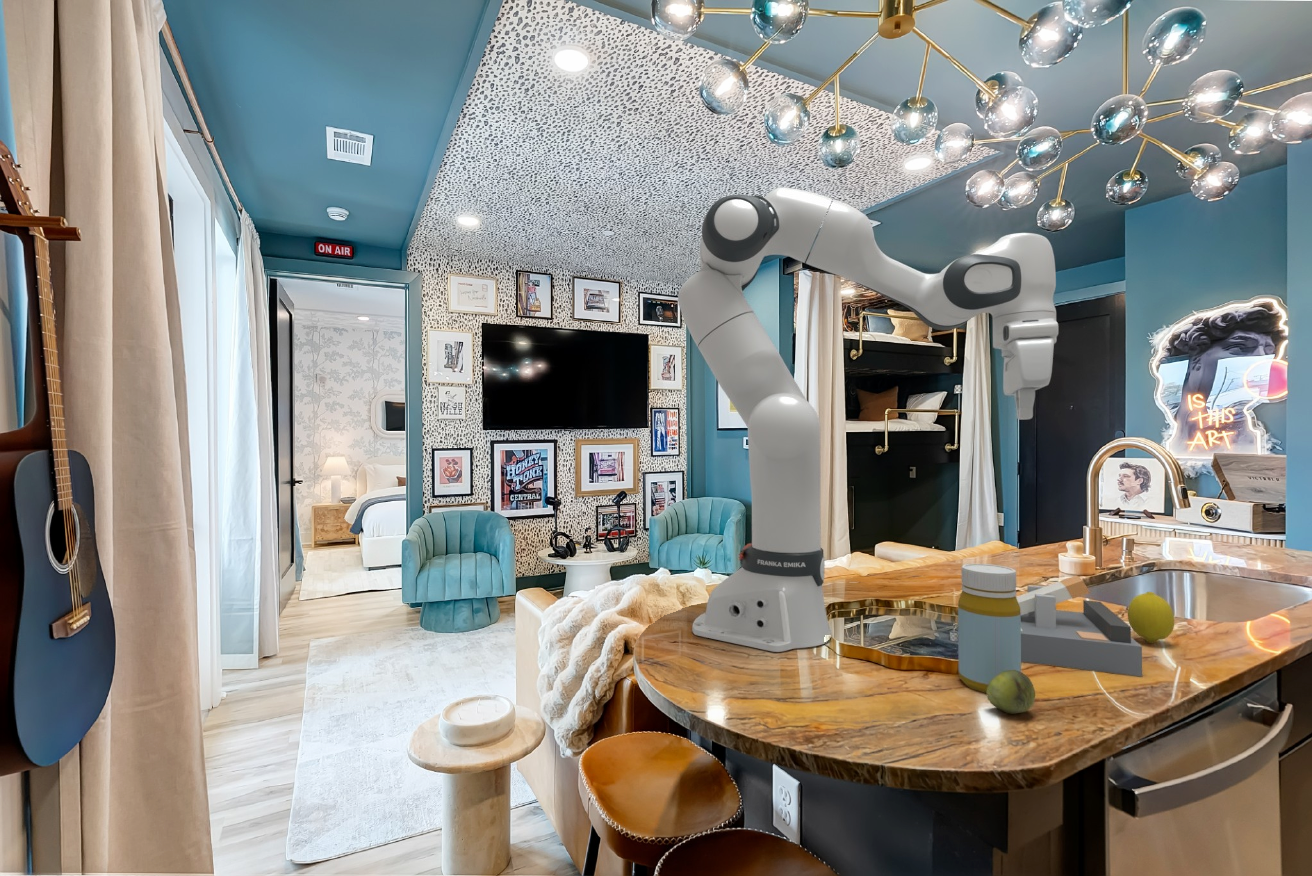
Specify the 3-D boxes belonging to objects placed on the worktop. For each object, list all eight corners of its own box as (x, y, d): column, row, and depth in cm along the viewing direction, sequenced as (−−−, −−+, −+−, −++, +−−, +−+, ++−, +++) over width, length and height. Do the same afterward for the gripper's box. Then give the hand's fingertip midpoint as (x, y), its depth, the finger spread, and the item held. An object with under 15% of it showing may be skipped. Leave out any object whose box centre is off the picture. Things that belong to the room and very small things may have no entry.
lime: (982, 711, 68) (982, 668, 68) (1000, 700, 71) (1000, 659, 71) (1025, 726, 64) (1024, 680, 65) (1042, 713, 67) (1041, 670, 67)
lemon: (1182, 651, 88) (1181, 597, 88) (1137, 646, 89) (1136, 594, 90) (1163, 639, 93) (1163, 588, 93) (1121, 635, 95) (1121, 586, 95)
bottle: (1030, 698, 71) (1029, 575, 72) (968, 693, 73) (967, 573, 73) (1008, 676, 78) (1007, 564, 78) (952, 672, 80) (951, 562, 80)
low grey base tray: (972, 655, 86) (971, 596, 86) (963, 624, 101) (963, 574, 101) (1142, 676, 78) (1141, 612, 78) (1105, 639, 93) (1105, 585, 93)
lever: (1005, 621, 89) (999, 609, 90) (1002, 613, 93) (995, 602, 94) (1090, 593, 85) (1083, 580, 86) (1083, 586, 89) (1076, 575, 89)
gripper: (993, 346, 107) (994, 421, 106) (1011, 325, 88) (1012, 417, 88) (1034, 343, 104) (1035, 421, 104) (1061, 321, 85) (1062, 416, 85)
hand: (1024, 419), depth 96 cm, fingers closed
